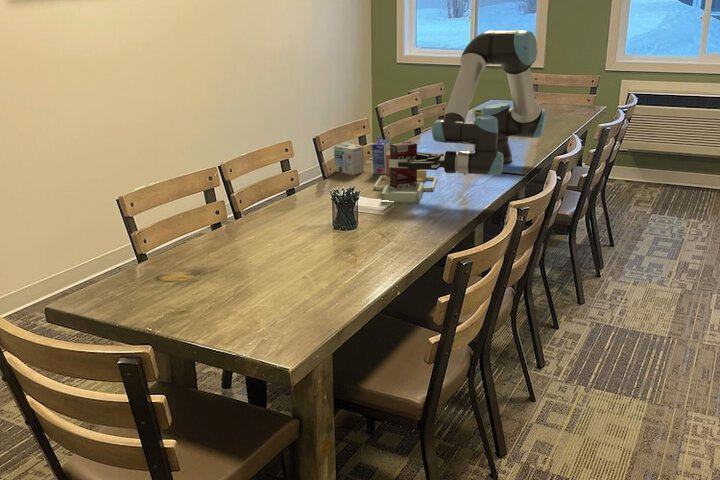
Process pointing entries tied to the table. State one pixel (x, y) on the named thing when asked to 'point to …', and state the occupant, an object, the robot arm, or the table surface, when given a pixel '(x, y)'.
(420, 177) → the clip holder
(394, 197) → the tray
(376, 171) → the ink cartridge box
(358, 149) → the light bulb box
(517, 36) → the robot arm
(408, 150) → the supplement box
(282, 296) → the table surface
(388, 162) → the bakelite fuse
